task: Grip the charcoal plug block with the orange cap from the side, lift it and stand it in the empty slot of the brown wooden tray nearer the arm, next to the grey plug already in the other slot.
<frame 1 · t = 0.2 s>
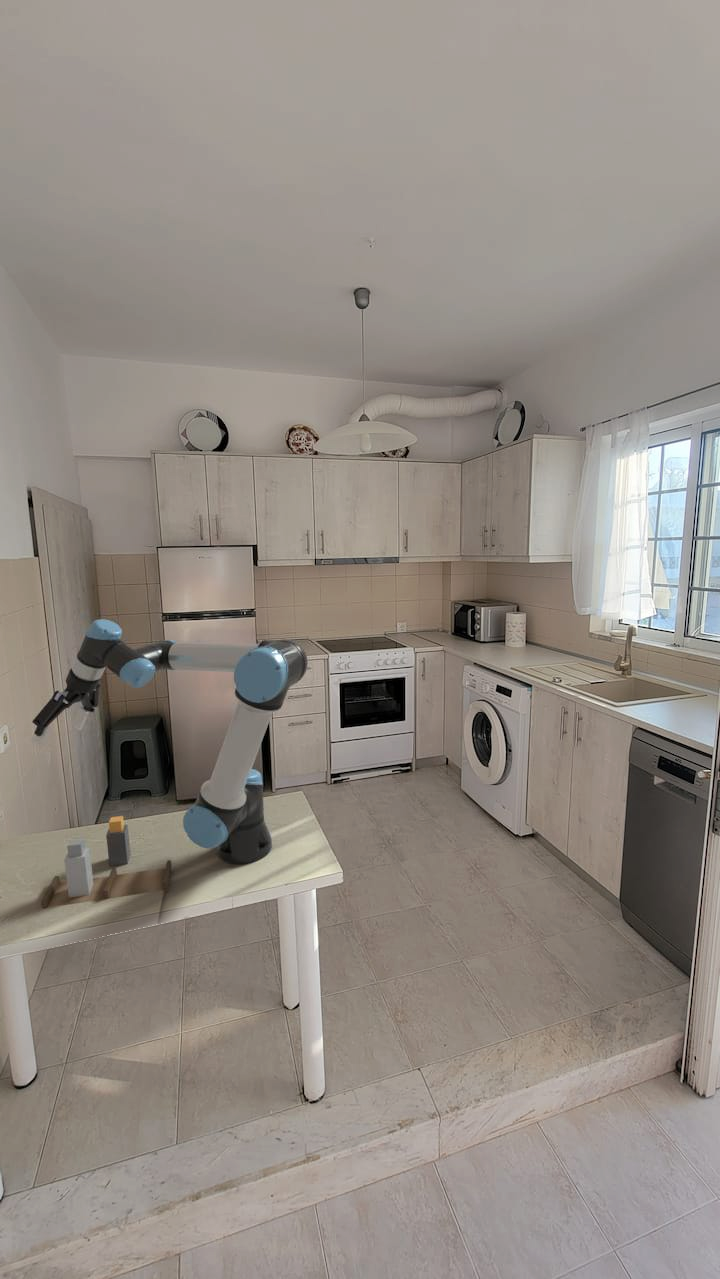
hand: (56, 735, 150), 35 cm above the table, tool tilted 35°, fingers open, 13 cm apart
brown wooden tray: (111, 890, 138), on the table
charcoal plug: (120, 863, 149), on the table
grey plug: (81, 890, 136), point 1 cm above the table, touching brown wooden tray
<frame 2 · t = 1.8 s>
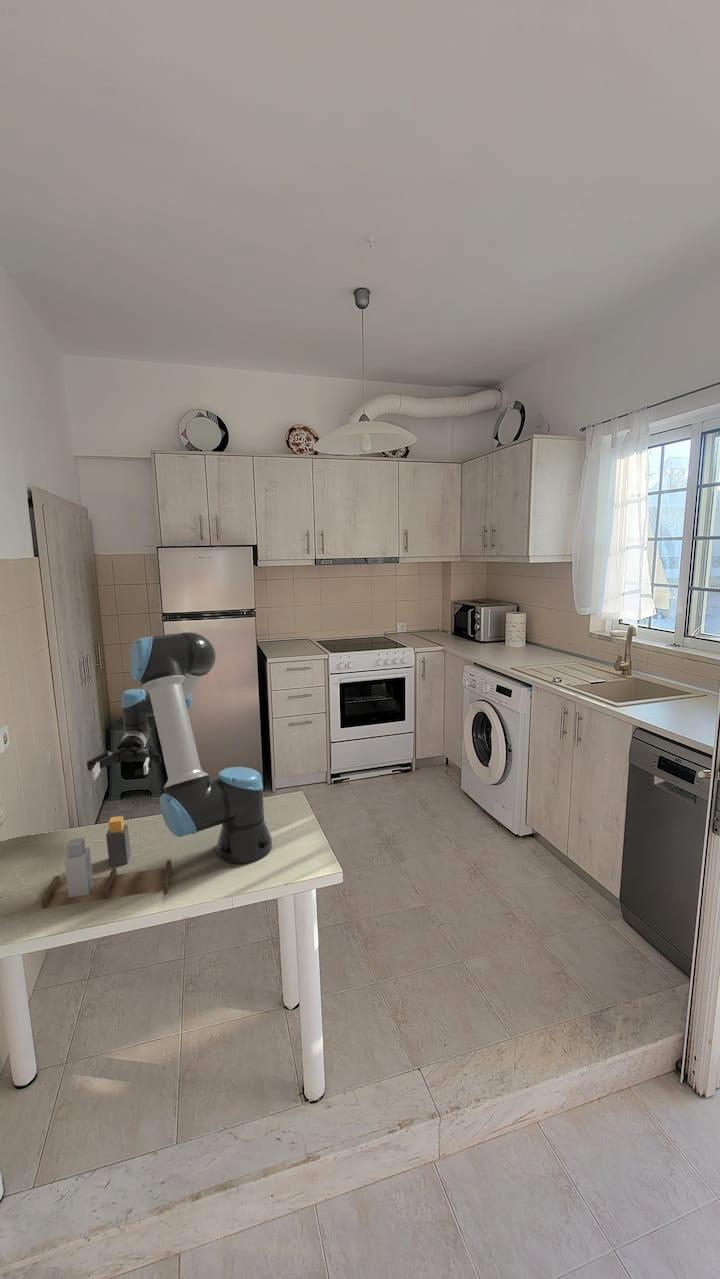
hand: (119, 773, 154), 22 cm above the table, tool horizontal, fingers open, 13 cm apart
nothing on the table moved.
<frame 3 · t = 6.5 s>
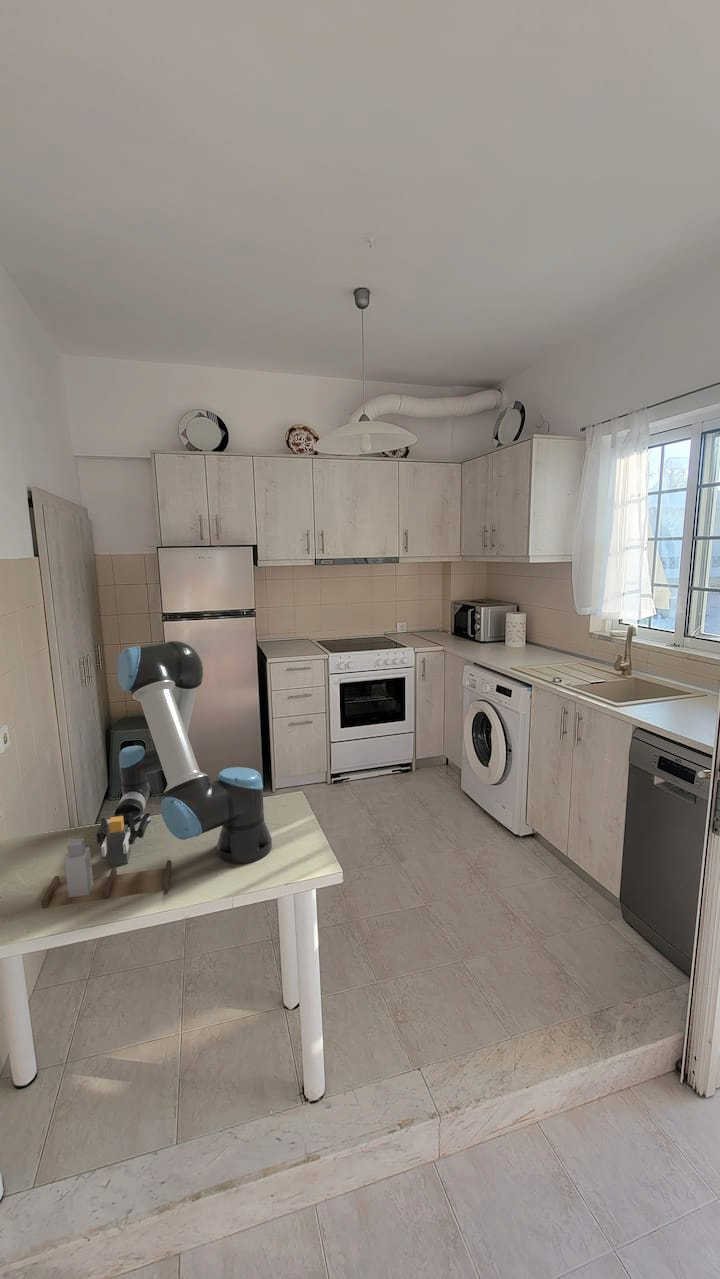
hand: (114, 850, 143), 7 cm above the table, tool horizontal, fingers closed on charcoal plug, 4 cm apart
charcoal plug: (120, 863, 149), on the table, touching gripper
everything else where it was.
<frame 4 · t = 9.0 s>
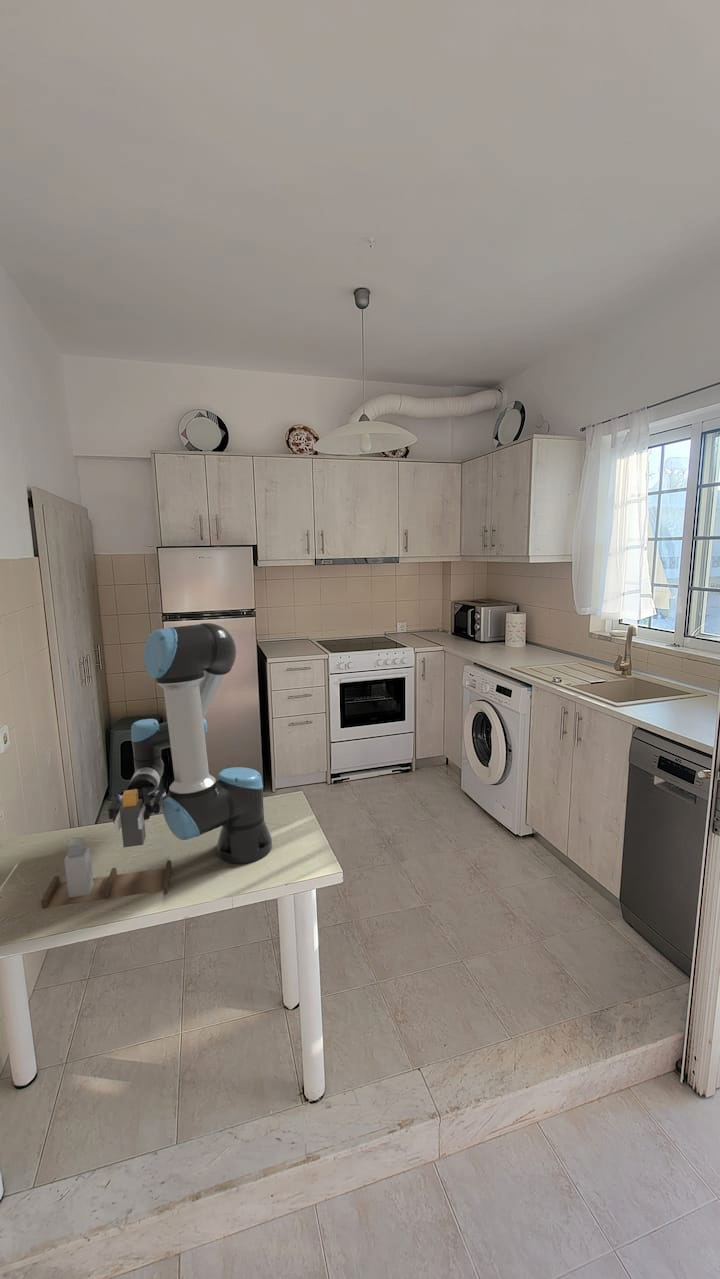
hand: (128, 825, 131), 19 cm above the table, tool horizontal, fingers closed on charcoal plug, 4 cm apart
charcoal plug: (134, 841, 137), point 12 cm above the table, touching gripper
everything else where it was.
when the fingers open (9 cm above the table, at t = 11.1 s): charcoal plug drops 1 cm, resting on brown wooden tray.
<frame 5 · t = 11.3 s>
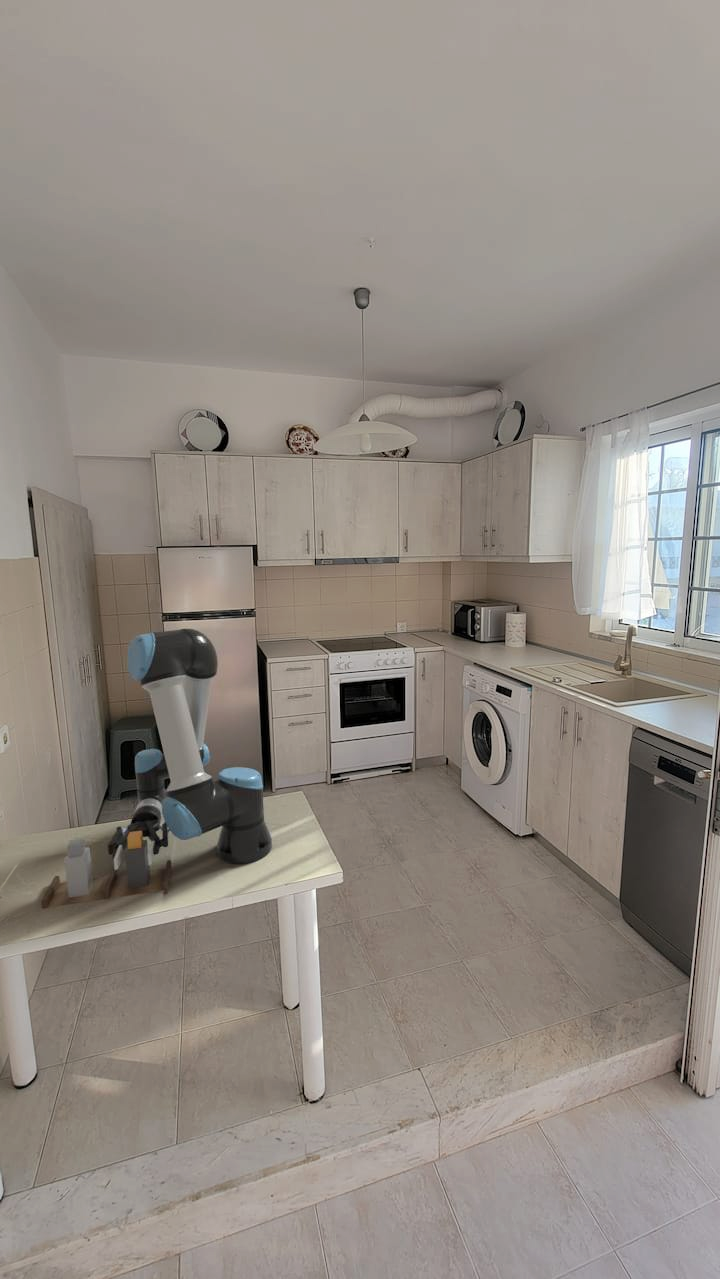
hand: (132, 861, 133), 9 cm above the table, tool horizontal, fingers open, 7 cm apart
charcoal plug: (139, 882, 139), point 1 cm above the table, touching brown wooden tray
everything else where it was.
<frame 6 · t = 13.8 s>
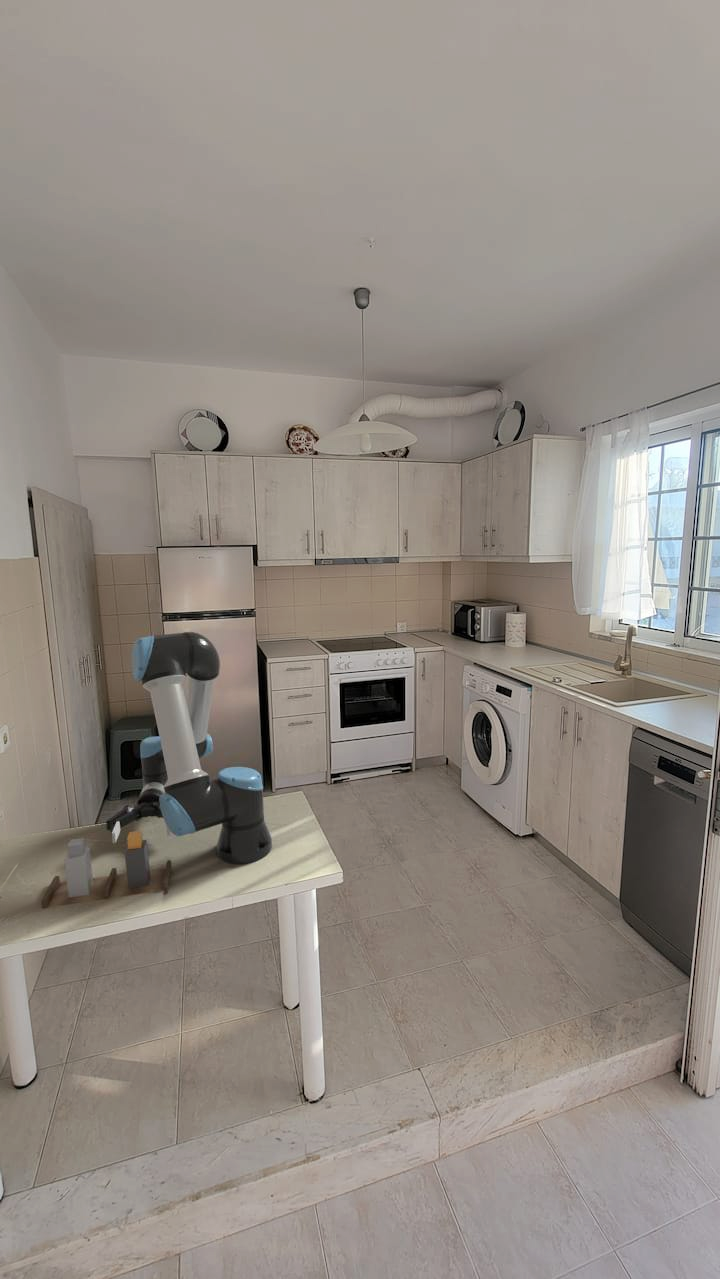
hand: (141, 834, 145), 10 cm above the table, tool horizontal, fingers open, 13 cm apart
nothing on the table moved.
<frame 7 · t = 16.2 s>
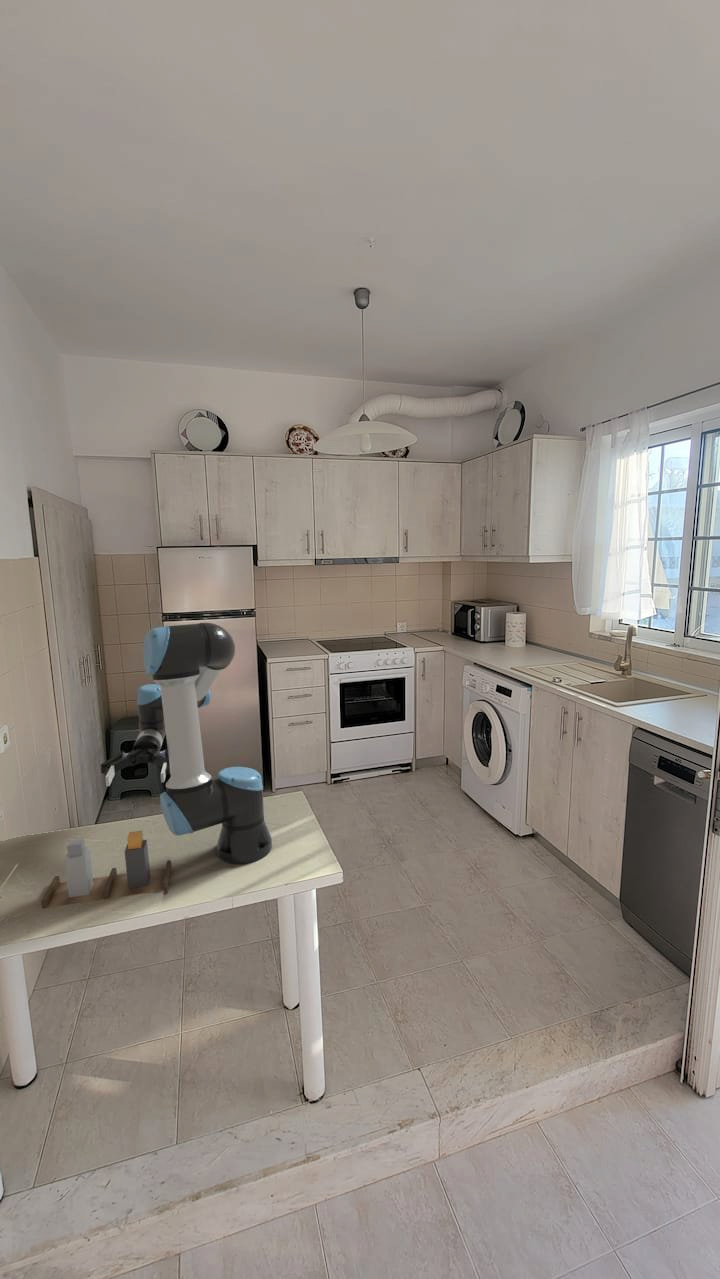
hand: (135, 779, 145), 24 cm above the table, tool horizontal, fingers open, 13 cm apart
nothing on the table moved.
at the end: charcoal plug inside the target area on the brown wooden tray (0.1 cm from its centre), point 1.0 cm above the brown wooden tray's base; charcoal plug tilted 0°; grey plug moved 0.0 cm from its start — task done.
